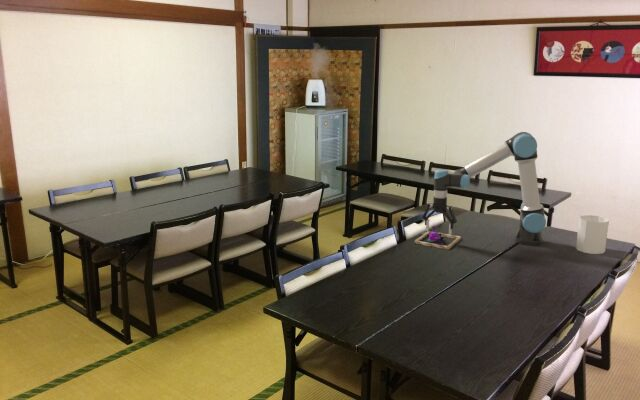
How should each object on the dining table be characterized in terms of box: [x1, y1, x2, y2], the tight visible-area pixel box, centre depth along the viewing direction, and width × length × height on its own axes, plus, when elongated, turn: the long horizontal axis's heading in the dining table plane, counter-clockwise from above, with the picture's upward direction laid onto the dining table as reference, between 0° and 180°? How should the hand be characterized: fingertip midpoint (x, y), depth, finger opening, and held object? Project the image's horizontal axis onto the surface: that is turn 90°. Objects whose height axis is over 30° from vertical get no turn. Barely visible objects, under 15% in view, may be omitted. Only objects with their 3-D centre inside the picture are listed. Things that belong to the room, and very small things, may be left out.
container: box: [575, 214, 610, 255], centre depth 295 cm, size 14×14×18 cm
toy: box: [427, 225, 444, 245], centre depth 309 cm, size 12×10×15 cm
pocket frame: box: [413, 230, 462, 250], centre depth 312 cm, size 23×22×2 cm
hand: (438, 232), depth 311 cm, fingers open, 13 cm apart
